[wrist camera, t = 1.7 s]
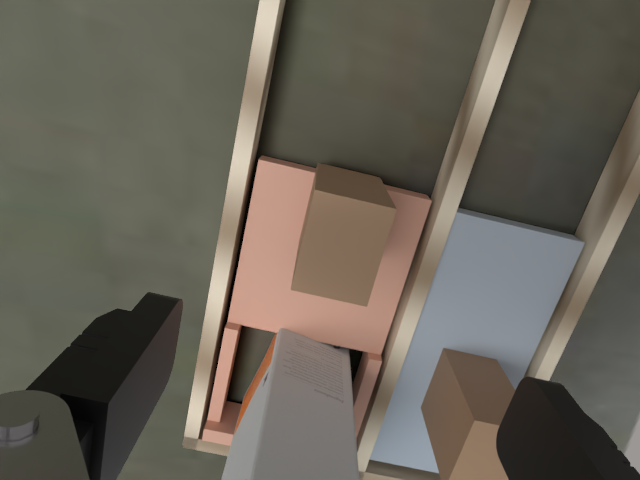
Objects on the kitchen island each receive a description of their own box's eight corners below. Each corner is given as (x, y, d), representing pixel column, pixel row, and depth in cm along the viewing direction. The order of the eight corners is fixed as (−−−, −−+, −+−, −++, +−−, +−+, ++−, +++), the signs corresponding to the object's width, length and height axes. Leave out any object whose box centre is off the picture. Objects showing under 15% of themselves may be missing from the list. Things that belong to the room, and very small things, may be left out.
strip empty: (449, 205, 23) (495, 253, 17) (572, 234, 24) (663, 292, 17) (367, 444, 28) (379, 549, 22) (469, 464, 29) (510, 574, 22)
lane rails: (287, -111, 19) (282, -132, 17) (696, 3, 20) (735, -5, 18) (191, 422, 28) (182, 447, 26) (477, 479, 29) (487, 507, 27)
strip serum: (264, 145, 22) (239, 171, 16) (429, 185, 23) (469, 226, 16) (212, 409, 27) (178, 507, 21) (348, 436, 28) (354, 540, 22)
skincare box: (281, 314, 25) (246, 498, 14) (350, 343, 26) (371, 542, 15) (240, 397, 27) (180, 621, 16) (305, 423, 28) (293, 657, 16)
